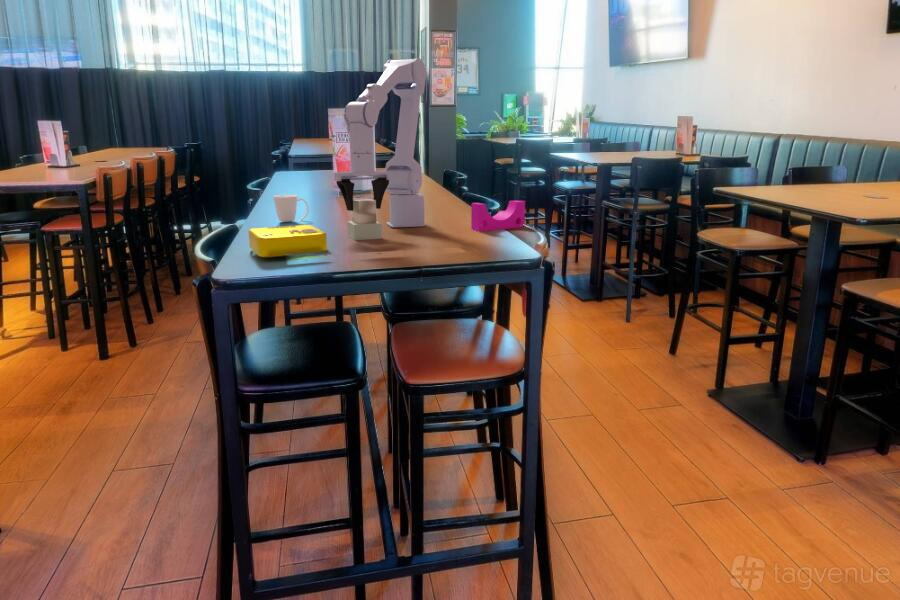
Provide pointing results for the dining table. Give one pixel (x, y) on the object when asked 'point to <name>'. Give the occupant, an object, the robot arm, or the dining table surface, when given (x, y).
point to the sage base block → (364, 230)
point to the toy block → (497, 217)
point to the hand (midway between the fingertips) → (363, 209)
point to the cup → (287, 207)
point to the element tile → (287, 240)
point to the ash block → (364, 211)
